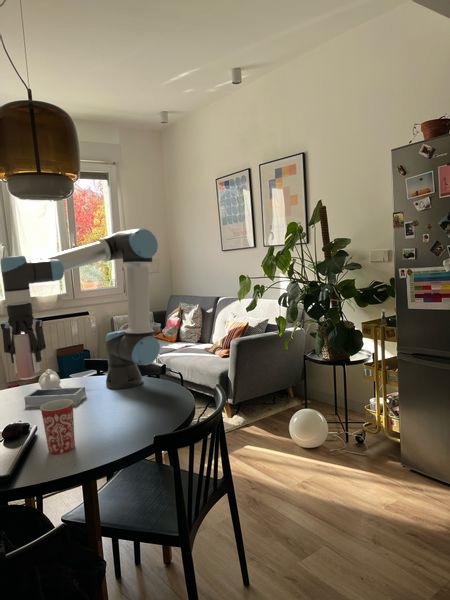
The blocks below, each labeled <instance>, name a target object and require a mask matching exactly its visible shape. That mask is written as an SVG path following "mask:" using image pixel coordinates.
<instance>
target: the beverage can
mask: <svg viewBox="0 0 450 600" xmlns="http://www.w3.org/2000/svg"><path fill="white" fill-rule="evenodd" d="M13 340H14V347H15V354H16V361H17V369H18V374H17V375H18V379H20V380H25V381H27V380H30V379H35V378H36V377H38V375H39V371H38V372H37V373H34V366H33V358H32V353H33V352H34V350H33V348H32V346H31V344H30V338H29V335H28V334H25V332H23V331H21V333H19V334H17V335H14V337H13Z"/></svg>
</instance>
